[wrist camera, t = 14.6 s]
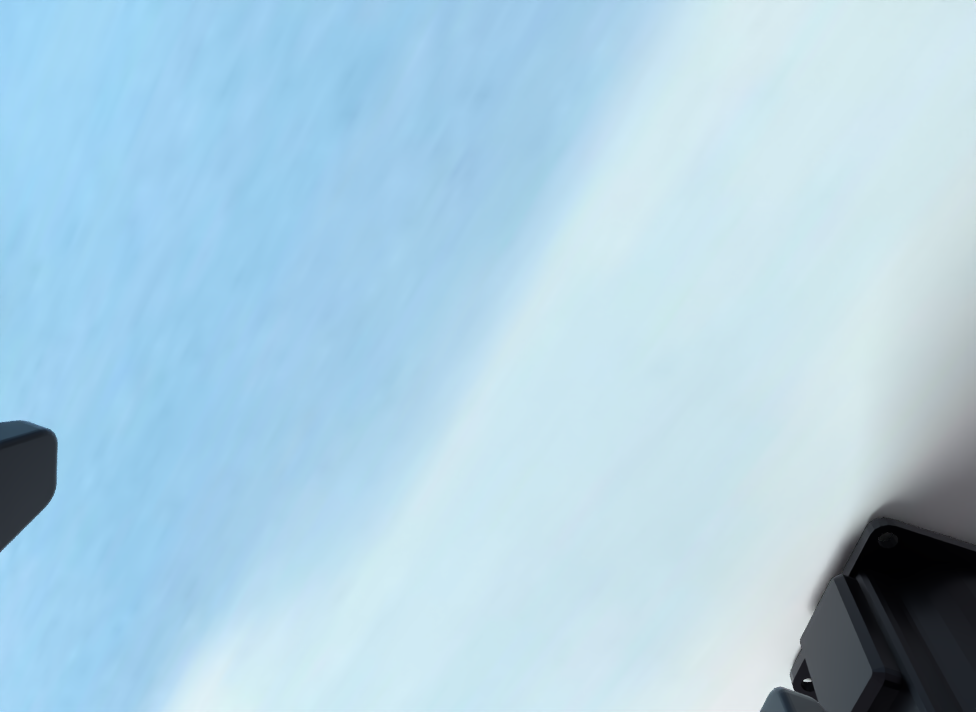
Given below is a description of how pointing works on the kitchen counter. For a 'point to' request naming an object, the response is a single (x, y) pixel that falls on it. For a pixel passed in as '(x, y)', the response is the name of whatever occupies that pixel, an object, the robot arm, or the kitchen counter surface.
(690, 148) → the kitchen counter surface
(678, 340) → the kitchen counter surface
